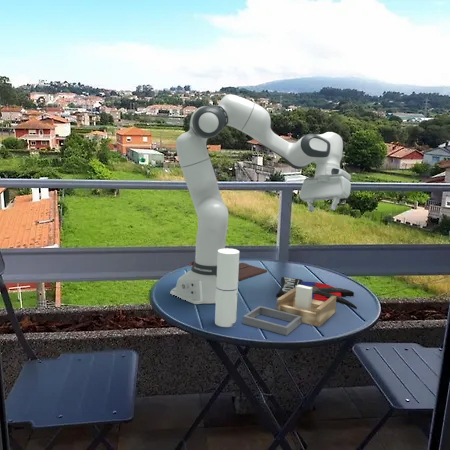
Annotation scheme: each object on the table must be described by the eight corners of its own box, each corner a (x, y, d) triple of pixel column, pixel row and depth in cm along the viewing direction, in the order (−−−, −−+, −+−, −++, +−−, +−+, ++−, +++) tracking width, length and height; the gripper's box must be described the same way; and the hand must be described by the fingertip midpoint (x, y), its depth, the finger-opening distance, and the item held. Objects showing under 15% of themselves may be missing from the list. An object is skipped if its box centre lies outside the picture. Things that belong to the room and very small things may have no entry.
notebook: (266, 273, 222) (267, 269, 222) (239, 282, 208) (239, 277, 207) (241, 266, 232) (241, 262, 231) (214, 274, 217) (214, 270, 217)
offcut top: (293, 302, 173) (293, 298, 173) (298, 299, 177) (298, 295, 176) (319, 309, 168) (319, 305, 168) (323, 306, 171) (324, 302, 171)
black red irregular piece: (274, 304, 184) (355, 314, 178) (275, 294, 183) (357, 305, 177) (280, 283, 209) (351, 292, 203) (281, 275, 208) (352, 283, 202)
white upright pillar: (294, 316, 168) (296, 286, 166) (296, 314, 171) (299, 284, 168) (307, 319, 166) (309, 289, 164) (310, 317, 168) (312, 287, 166)
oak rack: (275, 318, 169) (276, 299, 167) (293, 304, 182) (295, 287, 181) (319, 329, 161) (320, 309, 159) (334, 314, 174) (336, 296, 173)
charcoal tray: (242, 326, 161) (242, 316, 160) (258, 315, 171) (259, 305, 170) (286, 338, 153) (287, 328, 152) (301, 326, 163) (301, 316, 162)
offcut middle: (293, 306, 173) (293, 303, 173) (297, 303, 177) (297, 299, 176) (320, 312, 169) (320, 308, 168) (323, 309, 172) (323, 305, 172)
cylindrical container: (210, 322, 163) (213, 250, 158) (224, 316, 168) (227, 247, 163) (226, 329, 158) (229, 255, 153) (240, 323, 163) (243, 251, 158)
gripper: (299, 175, 185) (293, 209, 182) (345, 168, 170) (339, 206, 167) (309, 181, 189) (303, 214, 186) (355, 175, 174) (349, 211, 171)
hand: (321, 210), depth 176 cm, fingers open, 8 cm apart
